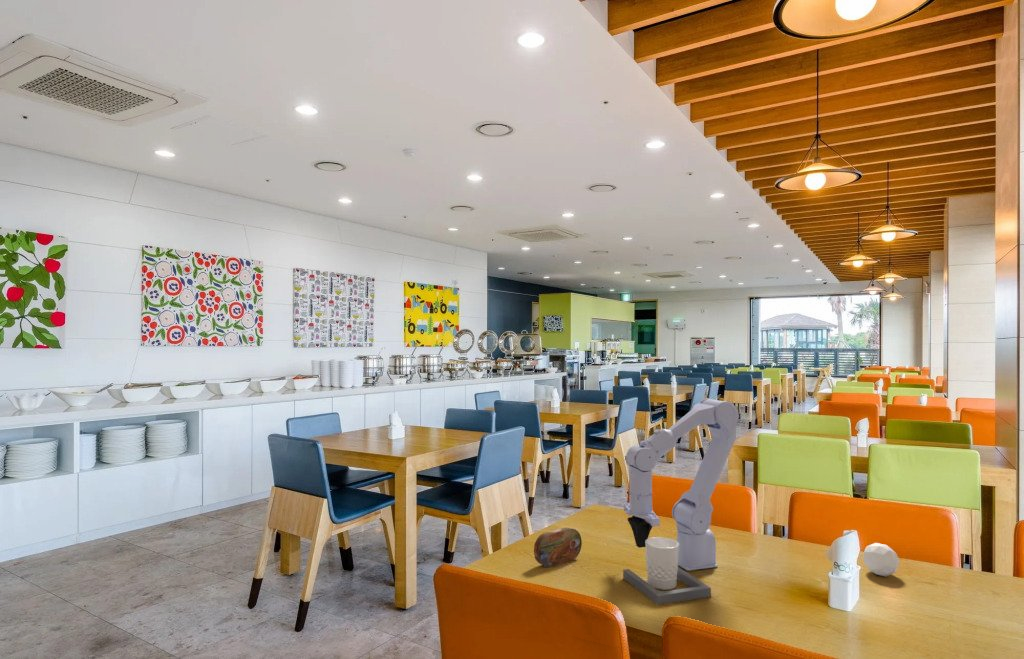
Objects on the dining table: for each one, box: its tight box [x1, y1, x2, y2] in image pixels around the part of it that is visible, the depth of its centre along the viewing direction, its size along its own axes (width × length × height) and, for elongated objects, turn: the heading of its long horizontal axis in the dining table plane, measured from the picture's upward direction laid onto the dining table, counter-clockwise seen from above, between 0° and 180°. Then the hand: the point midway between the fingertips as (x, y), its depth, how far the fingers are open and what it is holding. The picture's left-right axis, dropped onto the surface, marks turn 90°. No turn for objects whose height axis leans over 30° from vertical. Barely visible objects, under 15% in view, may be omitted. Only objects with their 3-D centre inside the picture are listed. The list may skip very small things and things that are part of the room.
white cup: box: [644, 536, 679, 591], centre depth 139 cm, size 8×8×10 cm
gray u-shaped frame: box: [622, 566, 712, 606], centre depth 137 cm, size 14×16×2 cm
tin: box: [533, 527, 583, 568], centre depth 152 cm, size 15×3×8 cm, turn 126°
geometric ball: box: [862, 542, 900, 577], centre depth 145 cm, size 8×8×8 cm
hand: (641, 546), depth 148 cm, fingers closed
